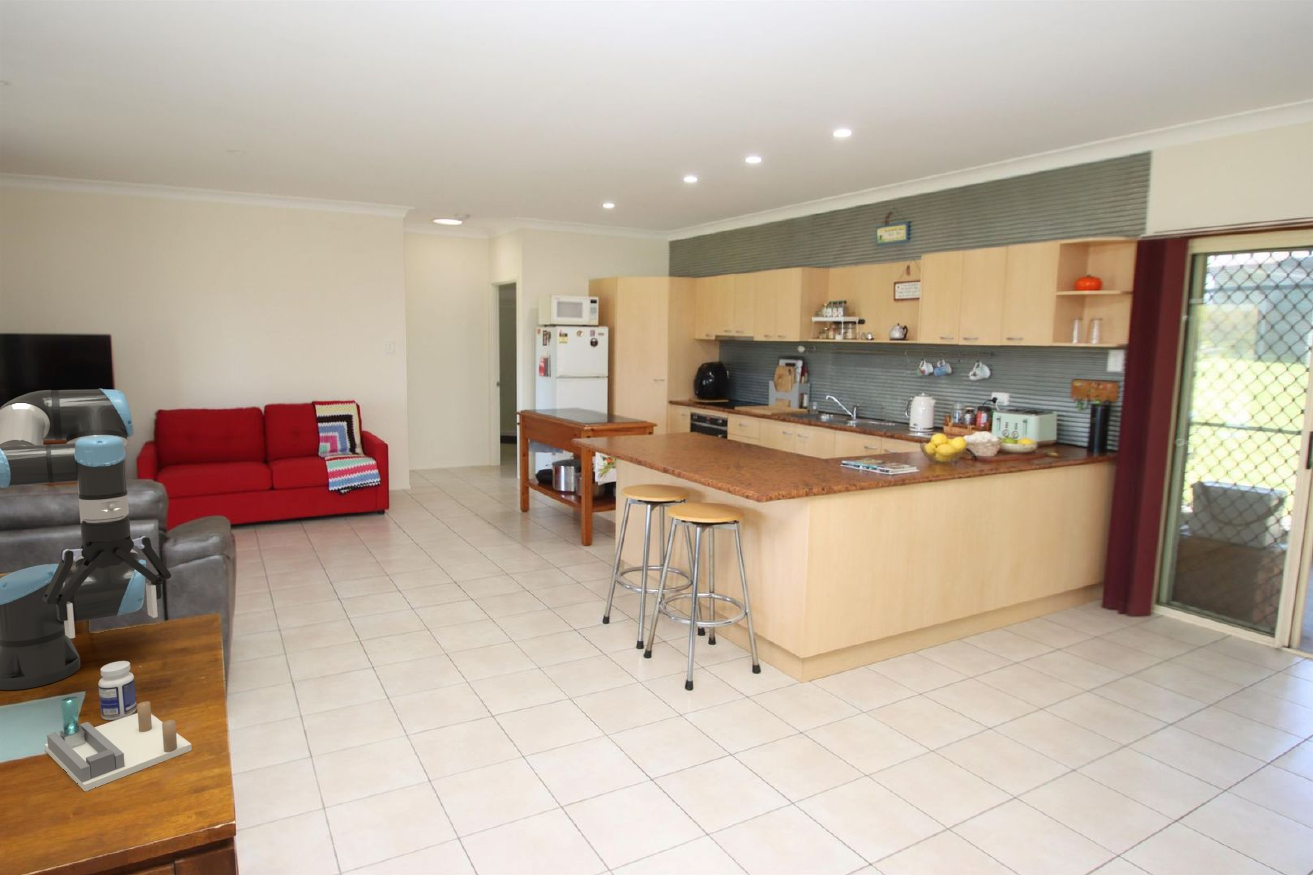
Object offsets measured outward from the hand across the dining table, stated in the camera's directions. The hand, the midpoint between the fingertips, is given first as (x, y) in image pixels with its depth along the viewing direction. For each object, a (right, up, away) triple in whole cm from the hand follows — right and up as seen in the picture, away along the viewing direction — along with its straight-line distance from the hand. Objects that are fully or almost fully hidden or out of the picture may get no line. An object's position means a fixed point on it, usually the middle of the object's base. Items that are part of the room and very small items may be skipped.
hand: (113, 625), depth 145 cm
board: (+9, -20, -11) cm, 24 cm away
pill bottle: (-1, -18, +2) cm, 18 cm away
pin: (+1, -18, -11) cm, 21 cm away
